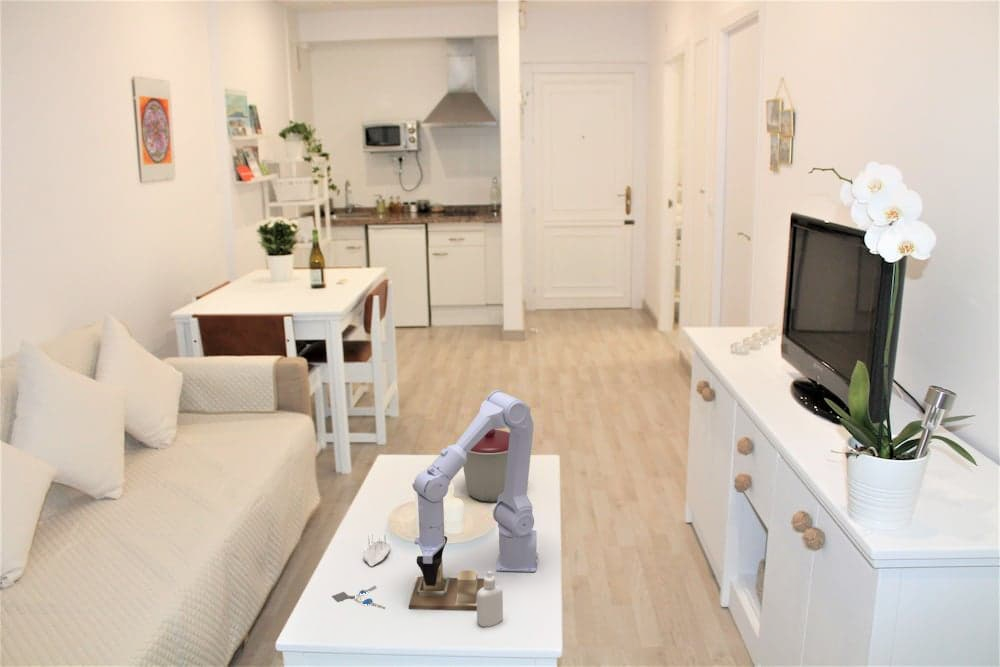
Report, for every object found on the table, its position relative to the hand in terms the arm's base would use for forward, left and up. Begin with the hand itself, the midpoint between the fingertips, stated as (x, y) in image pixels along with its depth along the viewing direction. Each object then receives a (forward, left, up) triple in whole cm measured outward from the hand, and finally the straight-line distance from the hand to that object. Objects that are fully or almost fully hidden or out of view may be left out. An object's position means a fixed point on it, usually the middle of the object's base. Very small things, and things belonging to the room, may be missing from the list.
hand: (433, 576), depth 193 cm
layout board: (-4, +2, -4) cm, 5 cm away
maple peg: (0, 0, -3) cm, 3 cm away
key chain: (+16, +2, -5) cm, 17 cm away
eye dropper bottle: (-14, +12, -4) cm, 19 cm away
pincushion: (+17, -16, -4) cm, 24 cm away
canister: (-9, -54, -4) cm, 54 cm away
